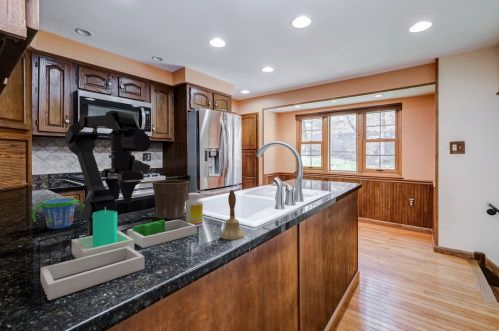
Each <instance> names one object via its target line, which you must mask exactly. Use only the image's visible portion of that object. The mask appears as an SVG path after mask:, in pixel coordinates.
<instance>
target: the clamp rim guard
mask: <svg viewBox="0 0 499 331" xmlns="http://www.w3.org/2000/svg"><path fill="white" fill-rule="evenodd" d="M197 229H198V227H197V225H194V224H191V223H188V222H186V220H182V219H180V218H178V219H172V220H169V221H165V232H162V233H158V234H154V235H149V236H143V235H141V234H139V232H138V233H137V232H135V231H133V228H130V229H127V230H126V231H127V233H126V235H127V236H129V237H131V238H132V239H134V245H135V244H136V245H137V246H139V247H140V248H142V249H145V248H148V247H149V248H150V247H152V246H153V247H154V246H157V245H160V244H163V243H168V242H171V241H175V240H179V239H182V238H187V237H191V236H194V235H197V234H198V233H197V232H198V231H197Z"/></svg>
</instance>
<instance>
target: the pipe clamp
mask: <svg viewBox="0 0 499 331" xmlns="http://www.w3.org/2000/svg"><path fill="white" fill-rule="evenodd" d="M165 222H166V220H165V219H159V220H157V221H152V222H147V223H142V224H139V225H134V226H133V227H132V229H133V231H135V232H137V233H138V232H139V234H141V235H143V236H149V235H154V234H158V233H162V232H166V231H165Z"/></svg>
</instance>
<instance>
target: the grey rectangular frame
mask: <svg viewBox="0 0 499 331" xmlns="http://www.w3.org/2000/svg"><path fill="white" fill-rule="evenodd" d="M145 268H146V266H145V256H144V255H143V254H141V253H140V252H139V251H137V250H135V248H134V249H132V248H131V247H129V246H126V247H122V248H118V249H114V250H110V251H106V252H102V253H98V254H94V255H90V256H86V257H82V258H78V259H76V258H74V259H70V260H66V261H63V262H58V263H54V264H50V265H46V266H42V267H40V274H39V275H40V284H41V286H42V289H43V288H44V289H43V290H44V293H45V296H46V295H47V296H46V297H47V301H48V300H49V301H51V300H54V299H57V298H60V297H63V296H66V295H69V294H72V293H75V292H78V291H81V290H85V289H87V288H91V287H93V286H96V285H99V284H102V283H106V282H109V281H111V280H115V279H117V278H120V277H123V276H126V275H129V274H132V273H136V272H139V271H141V270H142V271H143V270H144V269H145Z"/></svg>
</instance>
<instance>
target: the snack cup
mask: <svg viewBox="0 0 499 331" xmlns="http://www.w3.org/2000/svg"><path fill="white" fill-rule="evenodd" d="M77 203H79V204H80V213H79V214H80V215H81V211H82V210H83V208H84V206H85V205H84V204H83V202H82V201H80V200H78V199H76V198H74V197H73V198H71V197H65V198H63V197H62V198H54V199H53V198H52V199H46V200H43V201H42V202H41V203H39V204H38V205H36V206H35V207H34V209H33V211H32V215H31V216H32V217H31V218H32V220H33V223H36V222H37V218H36V211H37V210H38V209H39V208H40V207H41V208H42V211H43V213H44V218H45V222H46V227H47V228H48V229H50V230H51V229H52V230H57V229H58V230H59V229H64V228H68V227H71V225H72V224H73V222H74V214H75V208H76V205H77Z"/></svg>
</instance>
